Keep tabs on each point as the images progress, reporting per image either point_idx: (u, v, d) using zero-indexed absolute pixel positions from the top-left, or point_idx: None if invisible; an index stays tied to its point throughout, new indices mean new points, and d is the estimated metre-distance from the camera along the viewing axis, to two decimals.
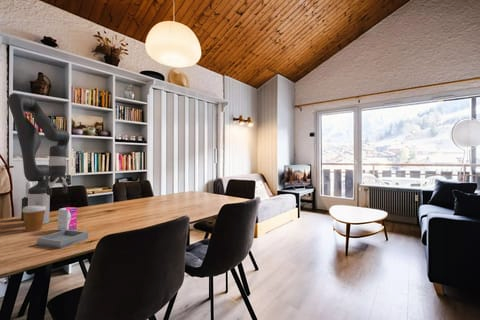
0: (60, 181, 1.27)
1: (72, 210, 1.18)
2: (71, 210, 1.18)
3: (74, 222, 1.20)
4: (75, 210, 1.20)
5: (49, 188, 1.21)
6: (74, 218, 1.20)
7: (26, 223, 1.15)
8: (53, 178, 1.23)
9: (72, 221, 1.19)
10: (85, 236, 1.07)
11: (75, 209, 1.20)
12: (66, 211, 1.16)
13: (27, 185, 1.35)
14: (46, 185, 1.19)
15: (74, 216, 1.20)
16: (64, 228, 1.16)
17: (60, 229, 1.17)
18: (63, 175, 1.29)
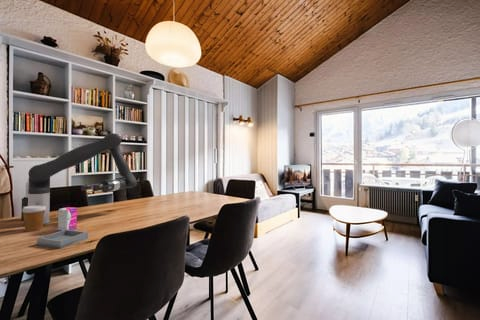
0: None
1: (72, 210, 1.18)
2: (71, 210, 1.18)
3: (74, 222, 1.20)
4: (75, 210, 1.20)
5: (99, 189, 1.32)
6: (74, 218, 1.20)
7: (26, 223, 1.15)
8: (104, 189, 1.38)
9: (72, 221, 1.19)
10: (85, 236, 1.07)
11: (75, 209, 1.20)
12: (66, 211, 1.16)
13: (27, 185, 1.35)
14: (104, 190, 1.33)
15: (74, 216, 1.20)
16: (64, 228, 1.16)
17: (60, 229, 1.17)
18: None
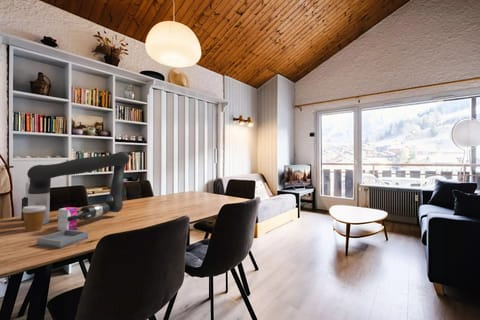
0: None
1: (72, 210, 1.18)
2: (71, 210, 1.18)
3: (74, 222, 1.20)
4: (75, 210, 1.20)
5: None
6: None
7: (26, 223, 1.15)
8: (83, 217, 1.25)
9: (72, 221, 1.19)
10: (85, 236, 1.07)
11: (75, 209, 1.20)
12: (66, 211, 1.16)
13: (27, 185, 1.35)
14: (81, 219, 1.21)
15: None
16: (64, 228, 1.16)
17: (60, 229, 1.17)
18: None
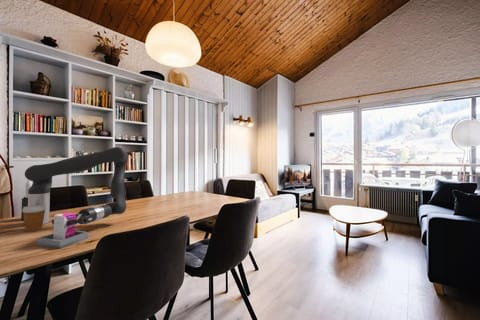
0: None
1: (69, 216, 1.02)
2: (68, 216, 1.02)
3: (72, 230, 1.04)
4: (73, 216, 1.04)
5: None
6: (72, 225, 1.04)
7: (26, 223, 1.15)
8: (83, 220, 1.09)
9: (69, 229, 1.03)
10: (85, 236, 1.07)
11: (73, 215, 1.04)
12: (62, 218, 1.00)
13: (27, 185, 1.35)
14: (82, 223, 1.05)
15: None
16: (60, 237, 1.00)
17: (56, 238, 1.01)
18: None
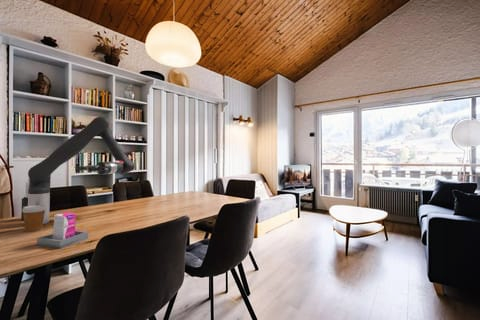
0: None
1: (69, 216, 1.02)
2: (68, 216, 1.02)
3: (72, 230, 1.04)
4: (73, 216, 1.04)
5: (95, 170, 1.25)
6: (72, 225, 1.04)
7: (26, 223, 1.15)
8: (100, 170, 1.30)
9: (69, 229, 1.03)
10: (85, 236, 1.07)
11: (73, 215, 1.04)
12: (62, 218, 1.00)
13: (27, 185, 1.35)
14: (101, 171, 1.26)
15: (72, 223, 1.04)
16: (60, 237, 1.00)
17: (56, 238, 1.01)
18: None
